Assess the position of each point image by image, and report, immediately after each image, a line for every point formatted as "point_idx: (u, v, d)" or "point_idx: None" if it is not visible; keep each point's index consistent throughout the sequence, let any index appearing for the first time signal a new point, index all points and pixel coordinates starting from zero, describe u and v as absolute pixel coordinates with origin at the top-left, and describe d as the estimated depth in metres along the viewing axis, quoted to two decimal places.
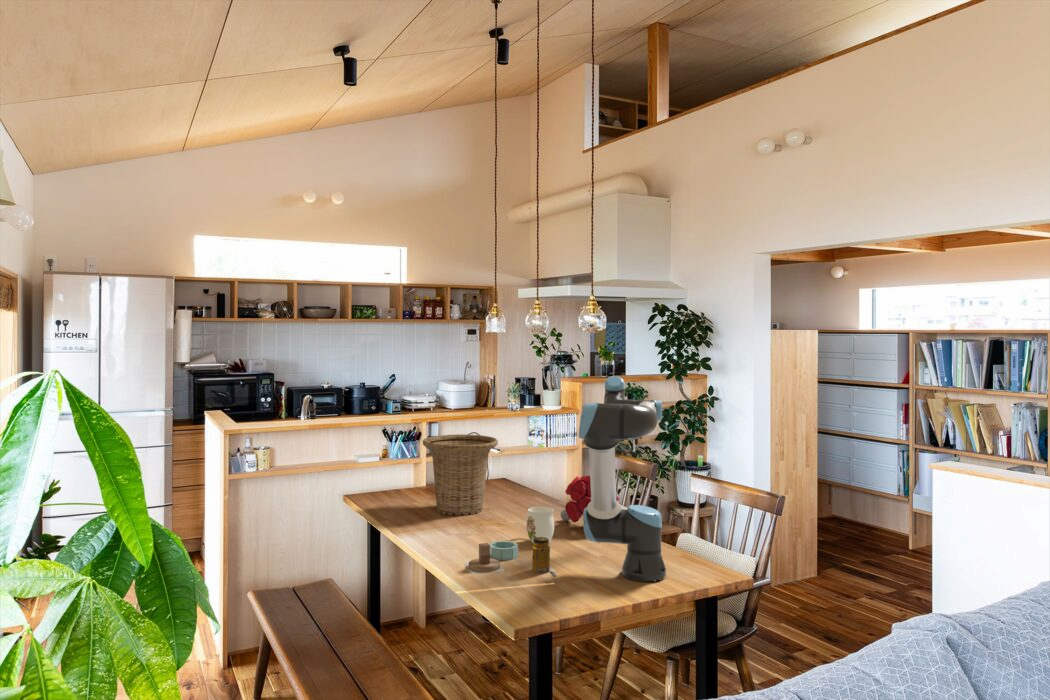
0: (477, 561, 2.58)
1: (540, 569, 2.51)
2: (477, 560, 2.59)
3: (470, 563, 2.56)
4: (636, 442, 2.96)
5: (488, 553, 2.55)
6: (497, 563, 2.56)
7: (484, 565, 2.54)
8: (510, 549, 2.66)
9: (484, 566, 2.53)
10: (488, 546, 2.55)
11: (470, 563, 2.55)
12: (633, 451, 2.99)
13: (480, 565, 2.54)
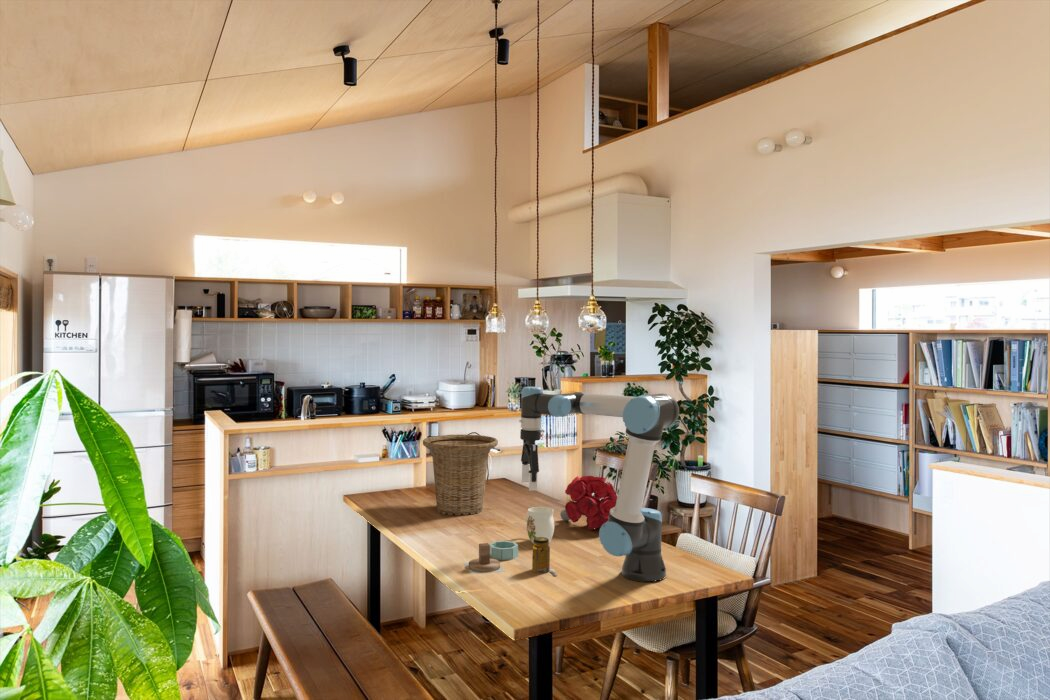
0: (477, 561, 2.58)
1: (540, 569, 2.51)
2: (477, 560, 2.59)
3: (470, 563, 2.56)
4: None
5: (488, 553, 2.55)
6: (497, 563, 2.56)
7: (484, 565, 2.54)
8: (510, 549, 2.66)
9: (484, 566, 2.53)
10: (488, 546, 2.55)
11: (470, 563, 2.55)
12: (529, 481, 2.75)
13: (480, 565, 2.54)
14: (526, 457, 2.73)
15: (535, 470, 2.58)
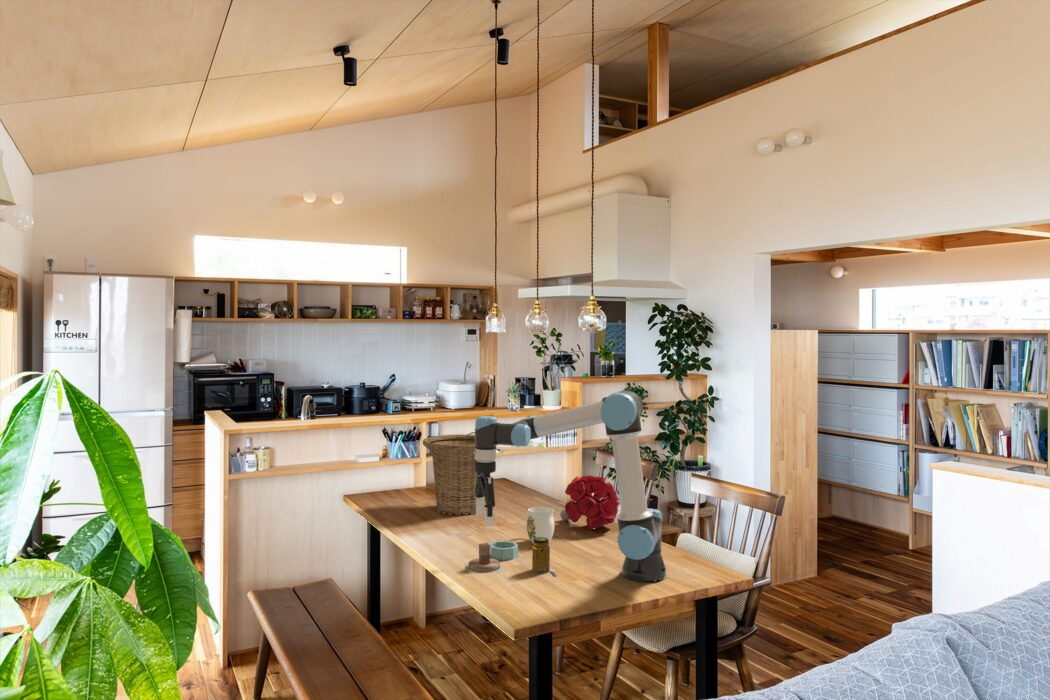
0: (477, 561, 2.58)
1: (540, 569, 2.51)
2: (477, 560, 2.59)
3: (470, 563, 2.56)
4: None
5: (488, 553, 2.55)
6: (497, 563, 2.56)
7: (484, 565, 2.54)
8: (510, 549, 2.66)
9: (484, 566, 2.53)
10: (488, 546, 2.55)
11: (470, 563, 2.55)
12: (483, 515, 2.63)
13: (480, 565, 2.54)
14: (480, 490, 2.61)
15: (491, 504, 2.47)
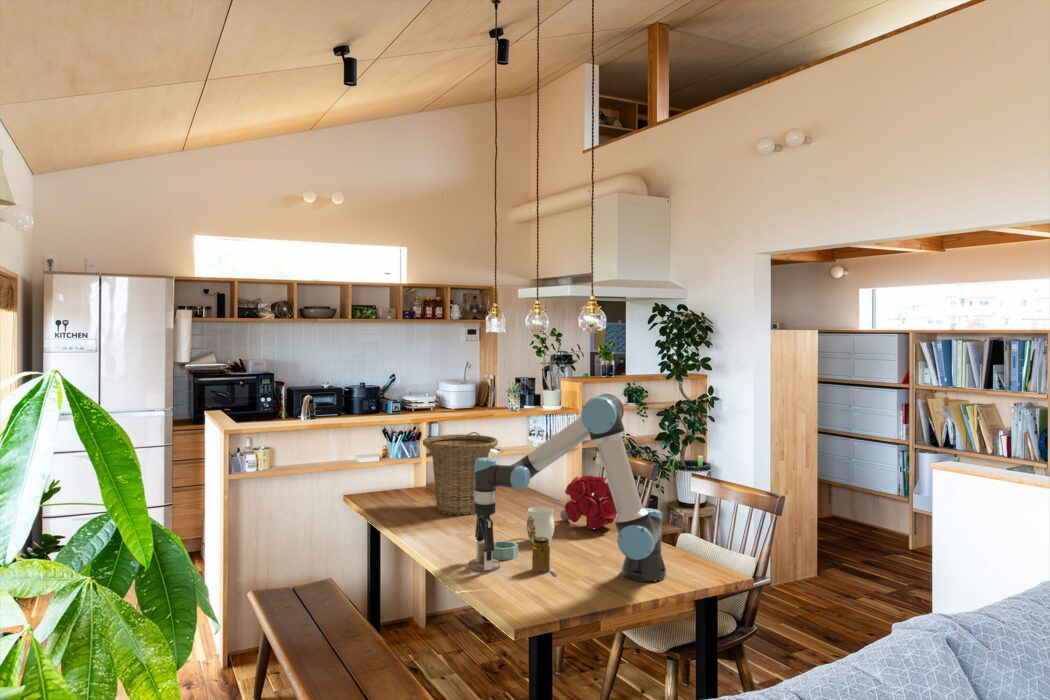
0: (477, 561, 2.58)
1: (540, 569, 2.51)
2: (477, 560, 2.59)
3: (470, 563, 2.56)
4: None
5: None
6: (497, 563, 2.56)
7: None
8: (510, 549, 2.66)
9: None
10: None
11: (470, 563, 2.55)
12: None
13: (480, 565, 2.54)
14: (481, 532, 2.60)
15: (490, 549, 2.48)
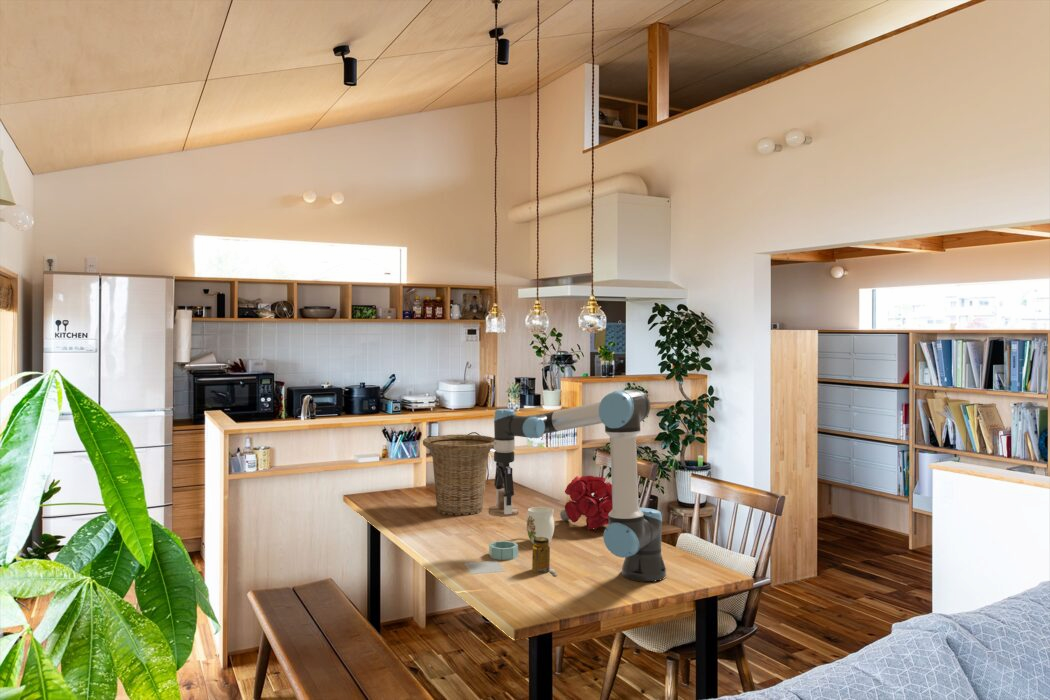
0: (497, 507, 2.71)
1: (540, 569, 2.51)
2: (496, 507, 2.72)
3: (490, 509, 2.69)
4: None
5: None
6: (516, 509, 2.69)
7: None
8: (510, 549, 2.66)
9: None
10: None
11: (490, 509, 2.68)
12: None
13: (500, 510, 2.66)
14: (500, 480, 2.73)
15: (510, 494, 2.61)
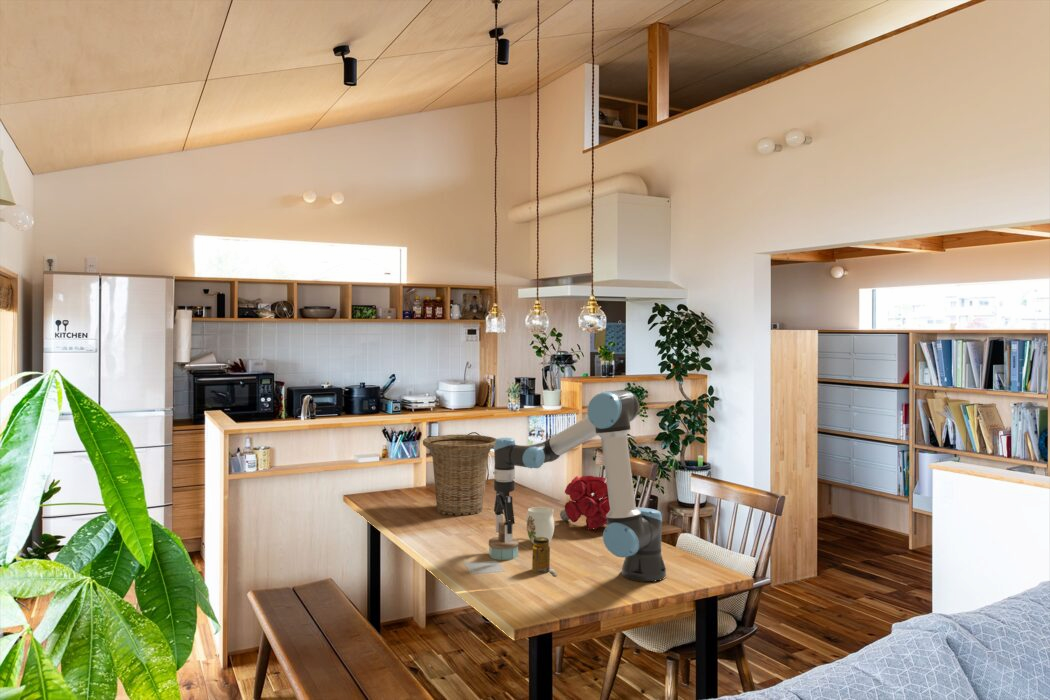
0: (497, 539, 2.71)
1: (540, 569, 2.51)
2: (496, 538, 2.73)
3: (490, 541, 2.69)
4: None
5: None
6: (516, 541, 2.69)
7: (504, 543, 2.67)
8: (510, 549, 2.66)
9: (504, 543, 2.66)
10: None
11: (490, 541, 2.69)
12: None
13: (500, 543, 2.67)
14: (499, 507, 2.74)
15: (511, 522, 2.60)
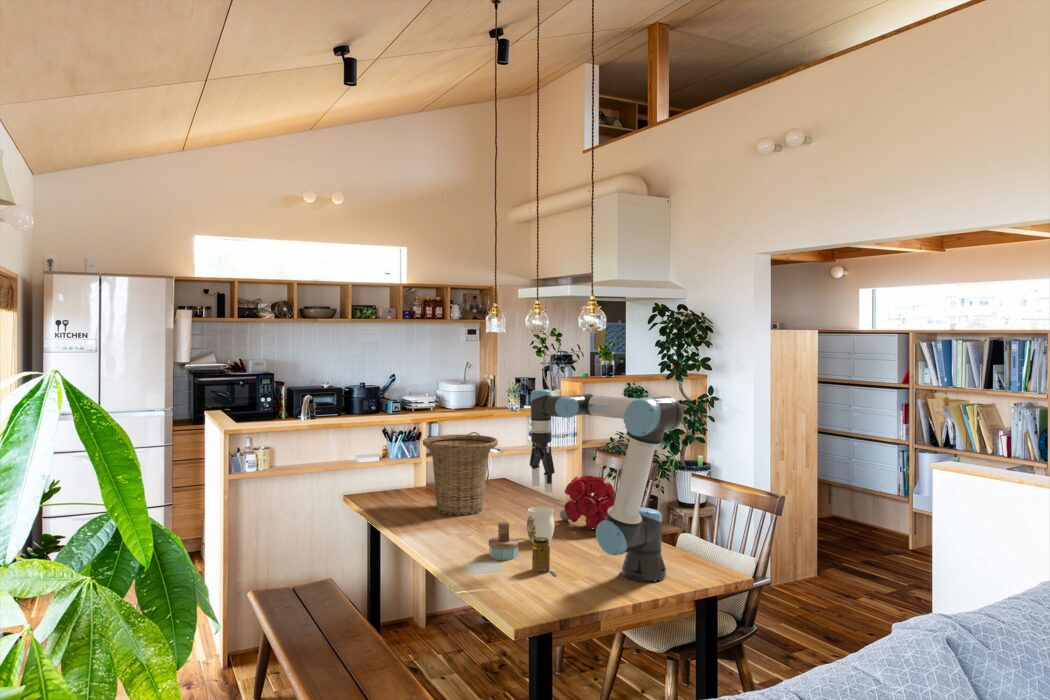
0: (496, 539, 2.72)
1: (540, 569, 2.51)
2: (496, 538, 2.73)
3: (490, 541, 2.69)
4: None
5: (507, 531, 2.69)
6: (516, 541, 2.70)
7: (504, 542, 2.67)
8: (510, 549, 2.66)
9: (504, 543, 2.66)
10: (507, 525, 2.69)
11: (490, 541, 2.69)
12: (539, 485, 2.76)
13: (500, 542, 2.67)
14: (536, 461, 2.73)
15: (551, 471, 2.59)
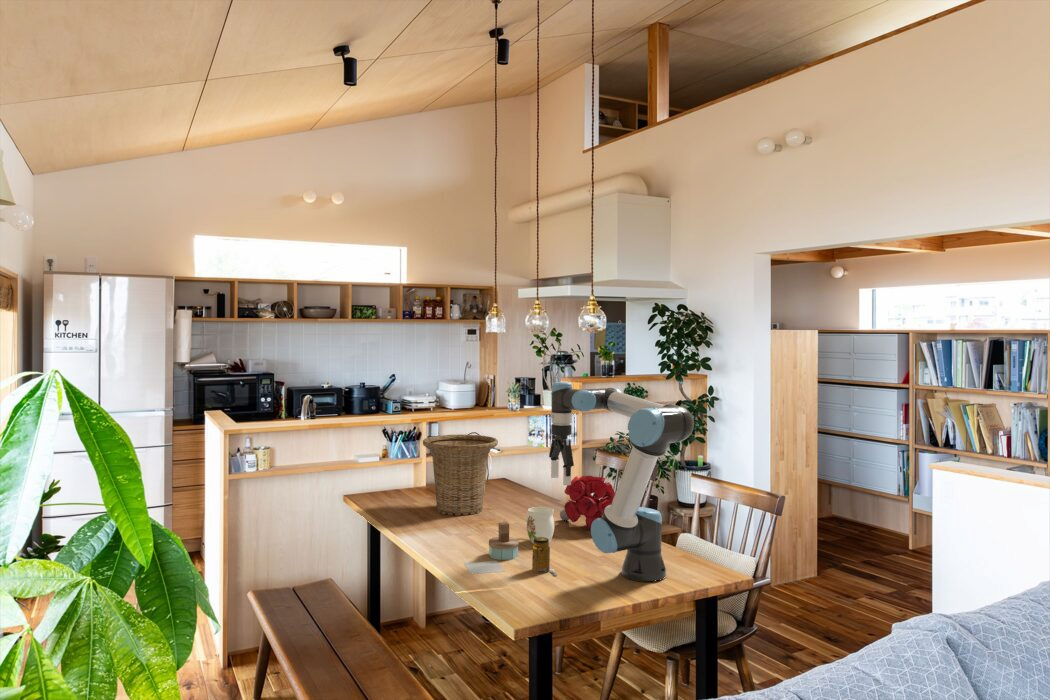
0: (497, 539, 2.72)
1: (540, 569, 2.51)
2: (496, 538, 2.73)
3: (490, 541, 2.69)
4: None
5: (507, 531, 2.69)
6: (516, 541, 2.70)
7: (504, 543, 2.67)
8: (510, 549, 2.66)
9: (504, 543, 2.66)
10: (507, 525, 2.69)
11: (490, 541, 2.69)
12: None
13: (500, 543, 2.67)
14: (556, 452, 2.74)
15: (570, 464, 2.60)
